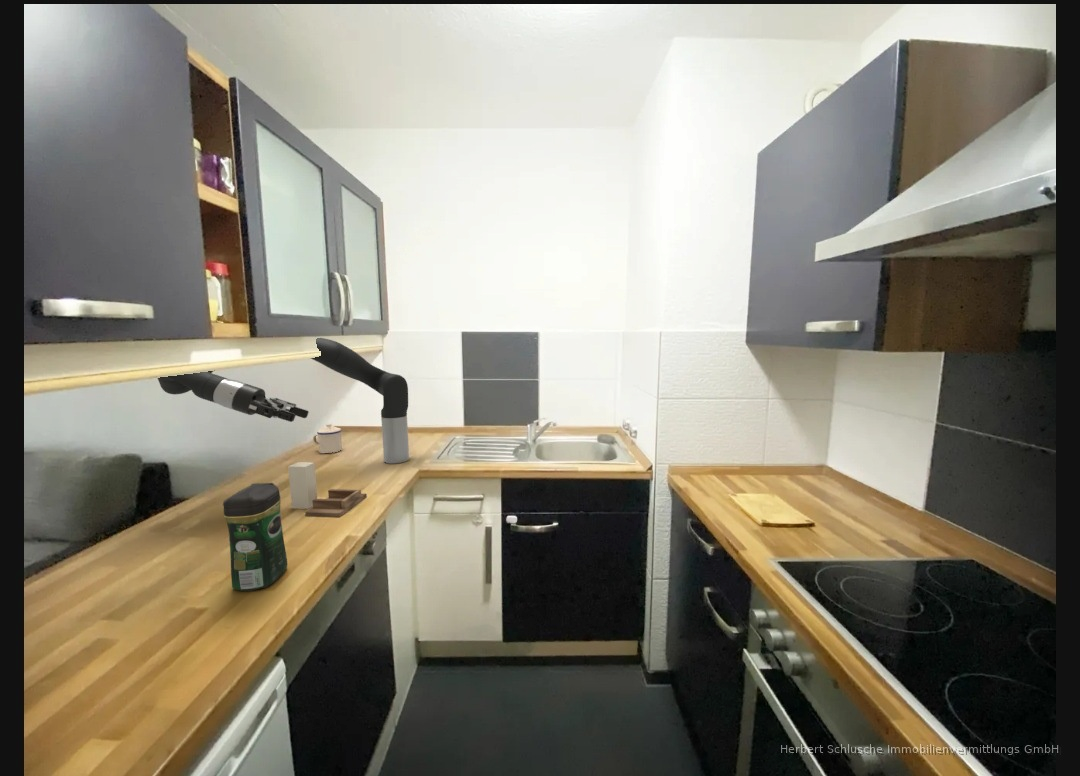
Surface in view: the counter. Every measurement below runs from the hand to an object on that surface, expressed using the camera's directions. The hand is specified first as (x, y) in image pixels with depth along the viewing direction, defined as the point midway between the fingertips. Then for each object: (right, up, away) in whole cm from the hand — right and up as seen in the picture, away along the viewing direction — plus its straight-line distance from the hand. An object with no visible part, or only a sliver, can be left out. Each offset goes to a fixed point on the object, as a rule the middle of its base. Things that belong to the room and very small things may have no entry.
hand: (301, 416), depth 115 cm
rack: (+9, -25, +3) cm, 27 cm away
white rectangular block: (-1, -25, +3) cm, 26 cm away
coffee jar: (+11, -30, -33) cm, 46 cm away
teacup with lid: (-23, -19, +61) cm, 67 cm away
